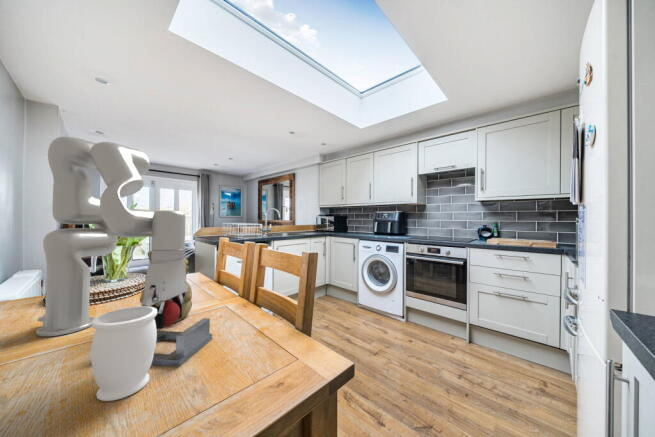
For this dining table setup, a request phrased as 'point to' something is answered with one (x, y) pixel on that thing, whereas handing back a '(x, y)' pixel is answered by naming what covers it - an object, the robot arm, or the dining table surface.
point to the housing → (183, 343)
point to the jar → (123, 351)
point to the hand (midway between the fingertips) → (166, 322)
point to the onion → (170, 313)
